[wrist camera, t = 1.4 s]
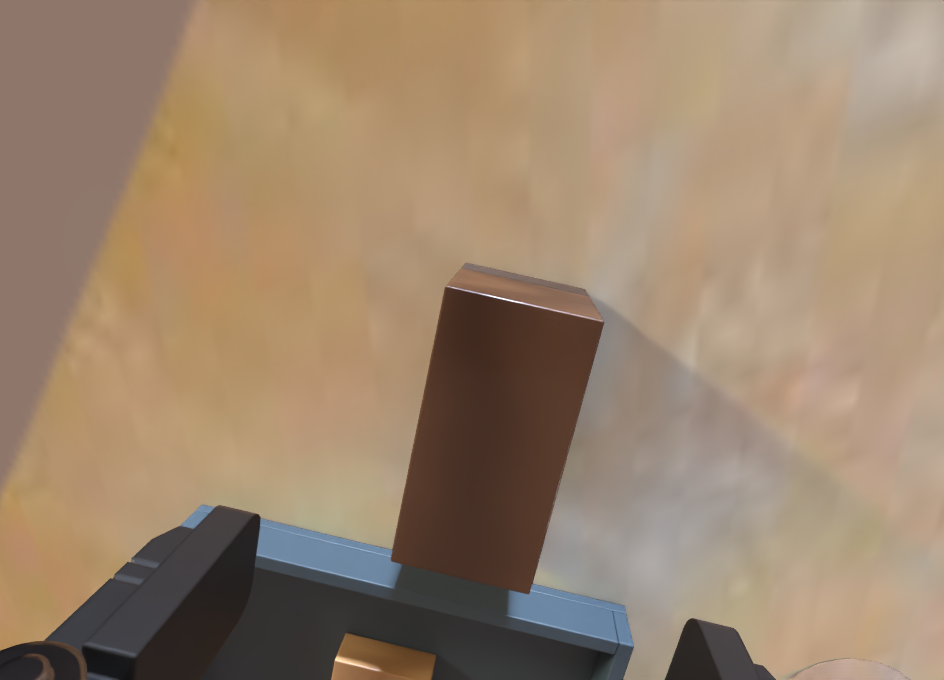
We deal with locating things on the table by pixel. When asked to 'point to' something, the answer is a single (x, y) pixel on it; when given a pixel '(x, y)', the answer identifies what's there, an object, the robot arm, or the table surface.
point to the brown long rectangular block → (495, 425)
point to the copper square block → (380, 661)
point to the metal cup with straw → (850, 671)
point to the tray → (407, 617)
